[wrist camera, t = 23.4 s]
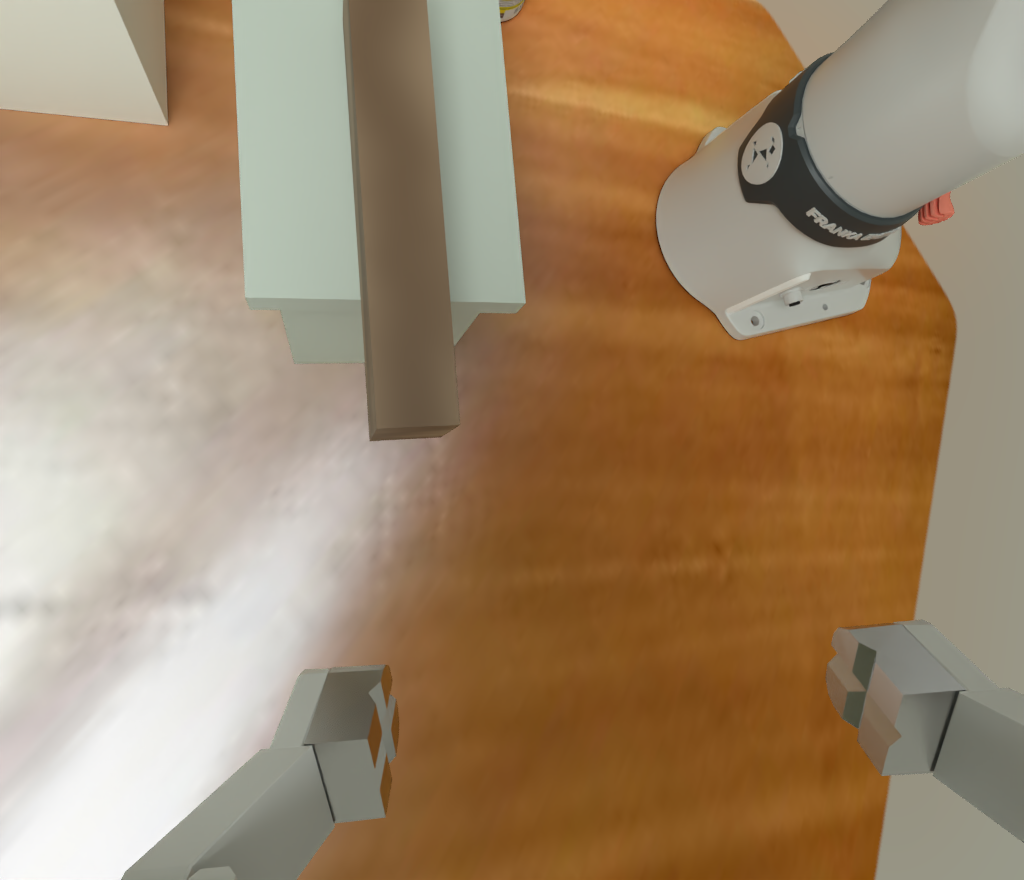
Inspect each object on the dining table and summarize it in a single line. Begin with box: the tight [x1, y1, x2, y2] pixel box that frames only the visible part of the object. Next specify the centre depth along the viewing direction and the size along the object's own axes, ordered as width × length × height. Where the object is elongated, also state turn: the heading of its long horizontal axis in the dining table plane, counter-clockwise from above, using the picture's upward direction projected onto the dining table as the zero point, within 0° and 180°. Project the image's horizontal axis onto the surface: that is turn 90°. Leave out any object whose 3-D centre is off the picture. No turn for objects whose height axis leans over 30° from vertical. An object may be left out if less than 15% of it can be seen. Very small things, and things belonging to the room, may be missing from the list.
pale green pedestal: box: [232, 0, 526, 364], centre depth 33 cm, size 12×20×16 cm, turn 5°
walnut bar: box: [343, 0, 460, 441], centre depth 23 cm, size 3×19×4 cm, turn 5°
